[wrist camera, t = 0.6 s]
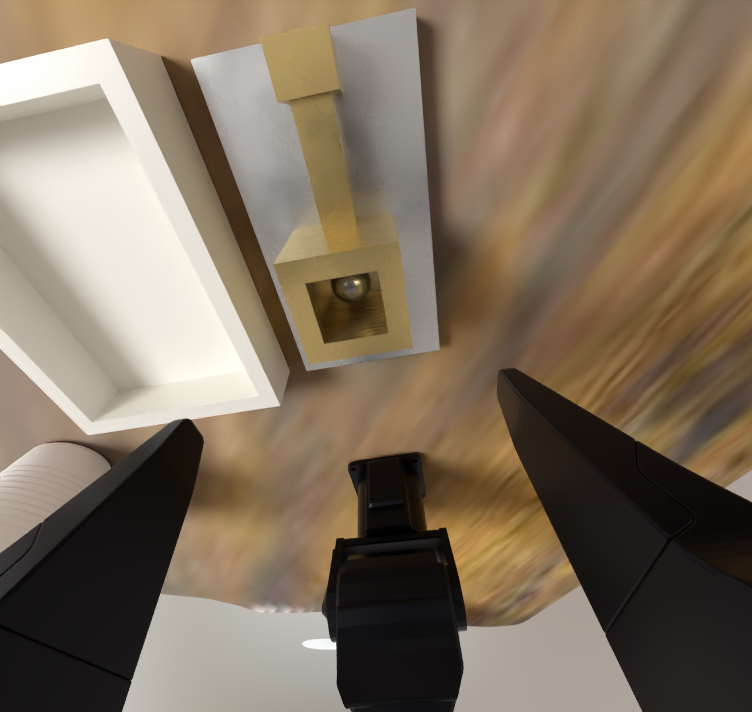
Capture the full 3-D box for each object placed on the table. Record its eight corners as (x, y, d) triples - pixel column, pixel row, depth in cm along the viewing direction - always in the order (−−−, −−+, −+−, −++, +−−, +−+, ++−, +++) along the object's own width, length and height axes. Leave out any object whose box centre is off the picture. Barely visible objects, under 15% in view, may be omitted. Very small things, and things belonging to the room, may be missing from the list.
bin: (290, 371, 24) (280, 405, 21) (119, 398, 24) (88, 435, 22) (160, 55, 14) (107, 37, 11) (-117, 119, 15) (-232, 119, 12)
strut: (402, 300, 20) (412, 347, 16) (319, 314, 20) (309, 364, 16) (364, 26, 13) (366, -18, 9) (240, 55, 13) (186, 25, 9)
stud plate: (436, 341, 23) (450, 379, 19) (308, 362, 23) (299, 403, 20) (412, 14, 13) (429, -21, 10) (200, 63, 14) (149, 45, 11)
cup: (-23, 421, 25) (-234, 586, 16) (114, 423, 26) (-17, 583, 17) (44, 495, 31) (-85, 648, 22) (154, 496, 32) (73, 644, 23)
